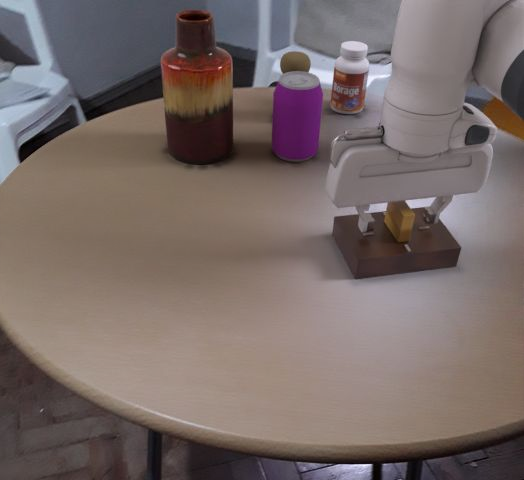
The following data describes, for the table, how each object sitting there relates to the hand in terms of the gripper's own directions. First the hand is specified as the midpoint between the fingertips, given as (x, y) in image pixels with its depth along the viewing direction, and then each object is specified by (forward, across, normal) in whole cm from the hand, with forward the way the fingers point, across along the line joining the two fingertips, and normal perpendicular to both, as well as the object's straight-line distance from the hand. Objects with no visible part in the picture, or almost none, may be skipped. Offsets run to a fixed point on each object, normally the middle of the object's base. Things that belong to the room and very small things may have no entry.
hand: (397, 225), depth 82 cm
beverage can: (+4, -6, +29) cm, 30 cm away
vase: (+4, -21, +33) cm, 39 cm away
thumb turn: (+1, 0, 0) cm, 1 cm away
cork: (+4, -2, +42) cm, 42 cm away
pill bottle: (+4, +9, +44) cm, 45 cm away
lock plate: (+4, 0, 0) cm, 4 cm away
